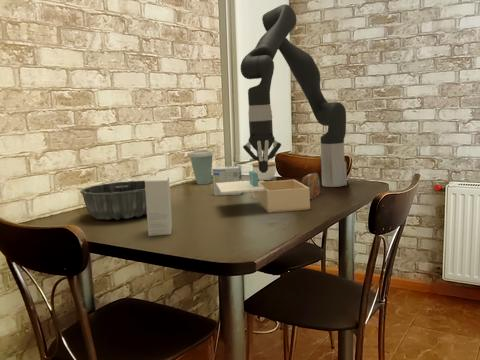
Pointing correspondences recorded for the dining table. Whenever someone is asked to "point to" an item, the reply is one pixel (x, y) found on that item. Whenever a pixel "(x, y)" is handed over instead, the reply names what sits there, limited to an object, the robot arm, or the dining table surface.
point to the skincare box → (158, 205)
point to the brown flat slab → (312, 184)
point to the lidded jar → (269, 173)
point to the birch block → (255, 193)
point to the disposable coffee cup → (202, 165)
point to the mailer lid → (241, 185)
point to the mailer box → (284, 196)
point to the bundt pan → (116, 200)
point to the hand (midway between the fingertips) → (263, 172)
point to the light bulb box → (226, 177)
